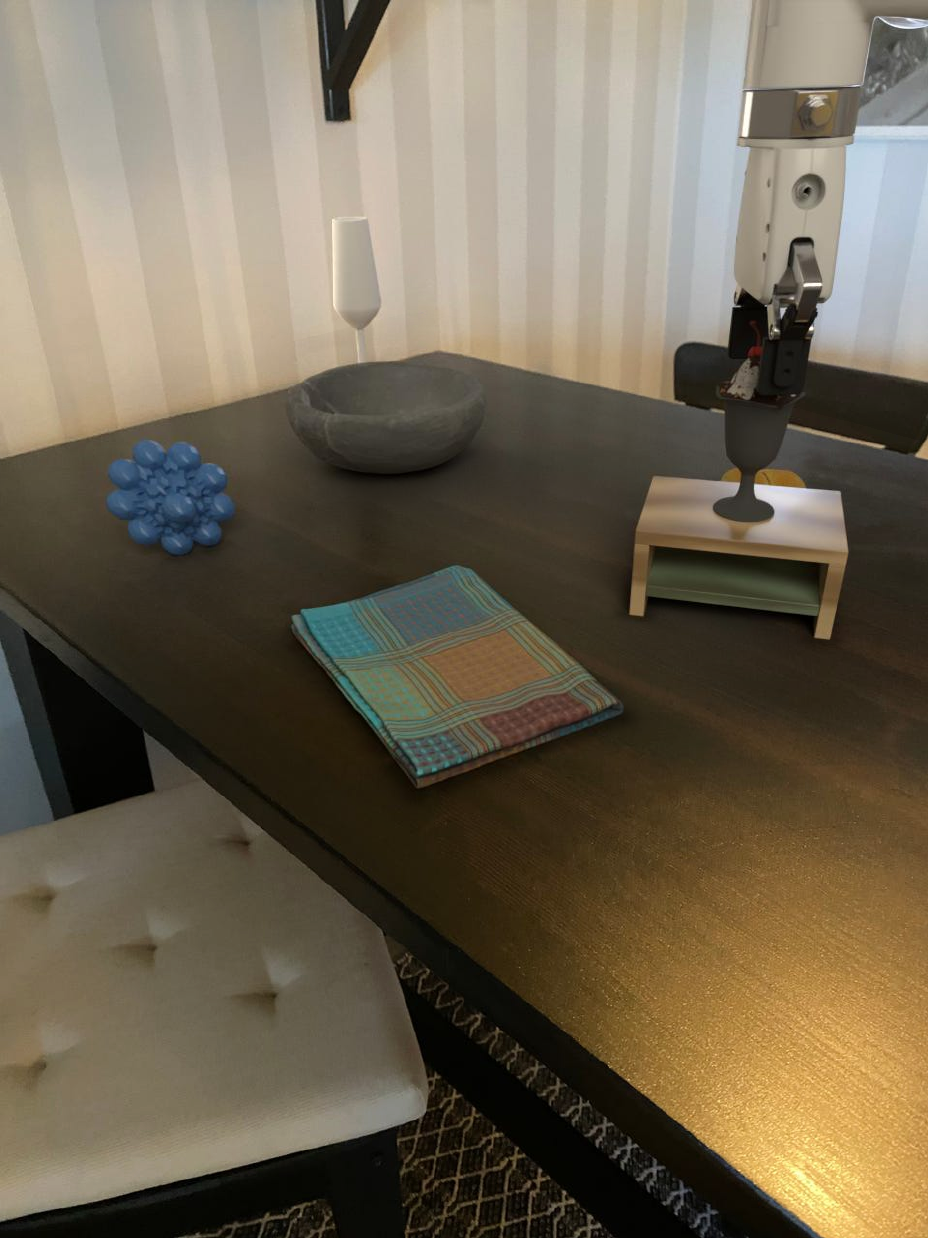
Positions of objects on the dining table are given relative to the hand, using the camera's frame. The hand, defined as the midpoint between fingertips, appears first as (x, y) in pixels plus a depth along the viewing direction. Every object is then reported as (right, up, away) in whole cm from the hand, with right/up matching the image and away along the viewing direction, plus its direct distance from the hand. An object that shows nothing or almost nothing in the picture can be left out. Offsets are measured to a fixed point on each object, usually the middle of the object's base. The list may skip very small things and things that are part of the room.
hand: (762, 374), depth 69 cm
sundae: (0, -10, +6) cm, 11 cm away
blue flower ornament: (-50, -13, +19) cm, 55 cm away
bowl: (-31, -1, +39) cm, 50 cm away
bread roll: (+8, -7, +26) cm, 28 cm away
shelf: (0, -17, +10) cm, 19 cm away
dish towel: (-24, -23, +1) cm, 33 cm away
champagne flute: (-37, +14, +63) cm, 75 cm away
